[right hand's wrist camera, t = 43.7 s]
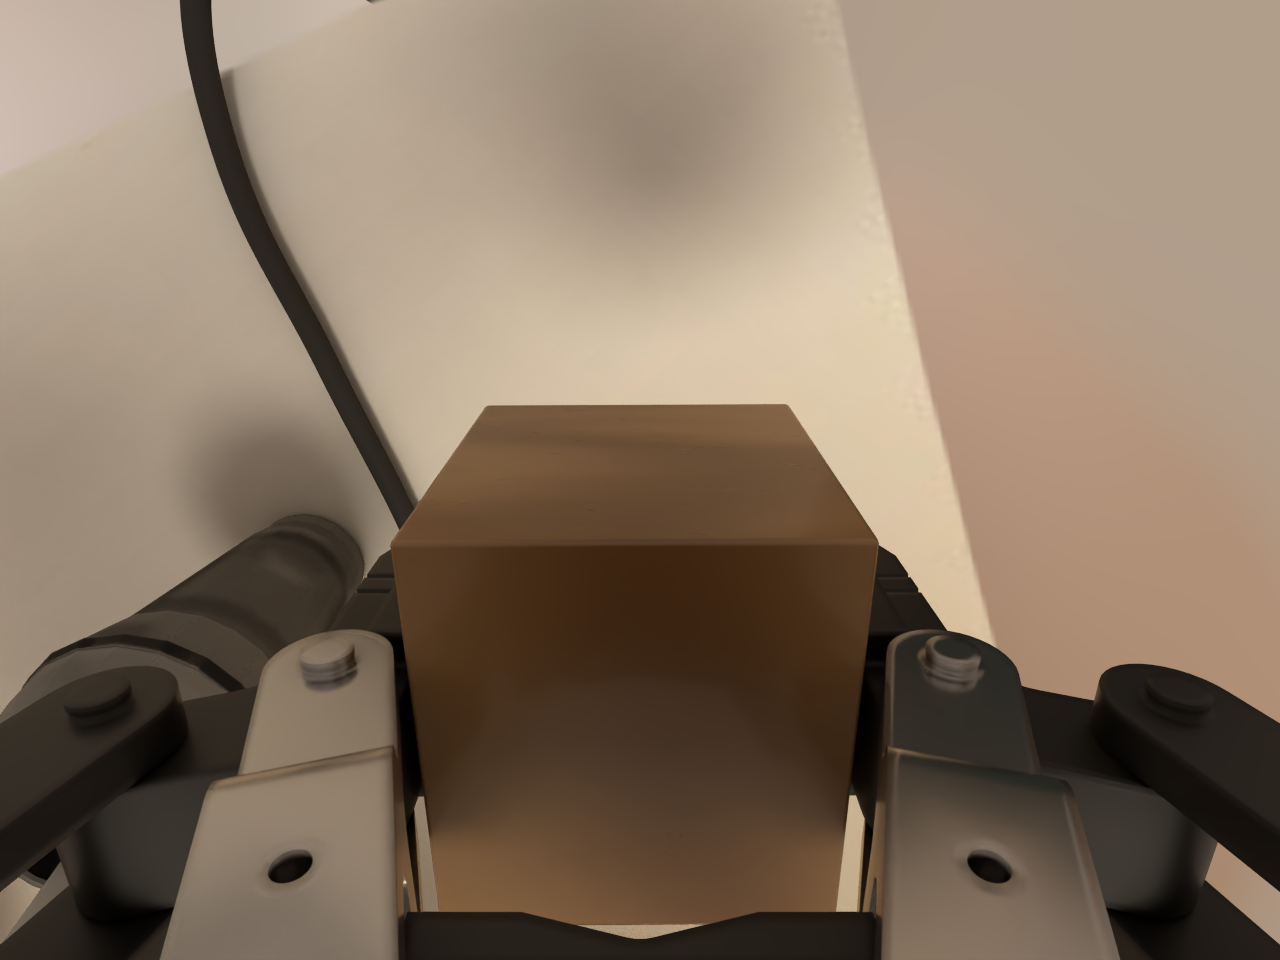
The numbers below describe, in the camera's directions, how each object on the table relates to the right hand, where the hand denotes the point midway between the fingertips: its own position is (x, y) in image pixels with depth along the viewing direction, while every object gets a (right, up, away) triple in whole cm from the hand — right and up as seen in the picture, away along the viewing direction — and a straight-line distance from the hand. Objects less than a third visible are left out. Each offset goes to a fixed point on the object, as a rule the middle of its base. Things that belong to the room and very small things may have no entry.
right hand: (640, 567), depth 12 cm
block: (0, 0, 0) cm, 1 cm away
